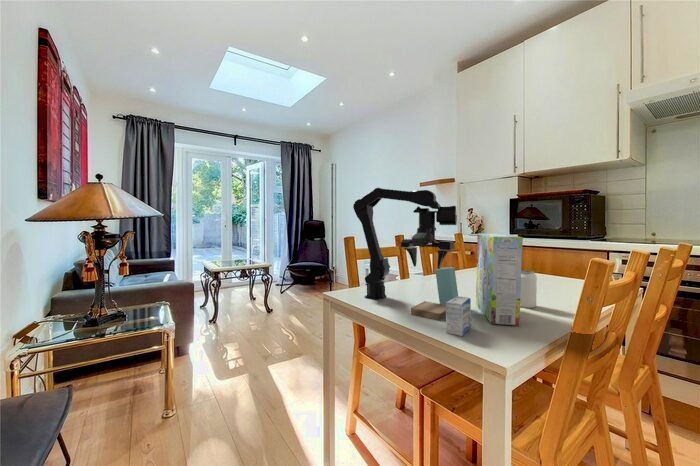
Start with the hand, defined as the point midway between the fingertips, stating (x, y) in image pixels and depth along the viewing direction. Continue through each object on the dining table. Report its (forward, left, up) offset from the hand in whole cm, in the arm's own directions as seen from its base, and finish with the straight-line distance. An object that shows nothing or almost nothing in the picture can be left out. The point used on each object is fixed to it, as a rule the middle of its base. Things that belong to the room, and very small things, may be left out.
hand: (426, 267), depth 110 cm
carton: (+9, 0, -13) cm, 15 cm away
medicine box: (+19, -21, -13) cm, 31 cm away
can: (+30, +16, -13) cm, 36 cm away
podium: (+7, -11, -13) cm, 18 cm away
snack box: (+24, 0, -13) cm, 27 cm away
